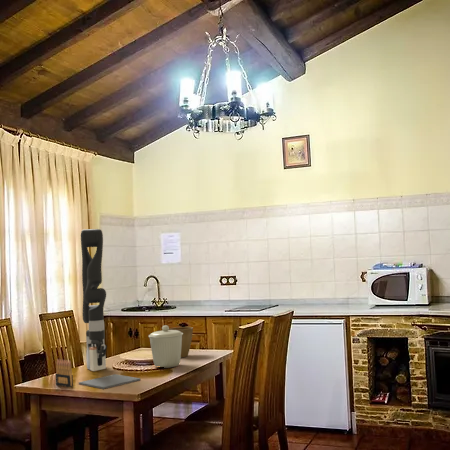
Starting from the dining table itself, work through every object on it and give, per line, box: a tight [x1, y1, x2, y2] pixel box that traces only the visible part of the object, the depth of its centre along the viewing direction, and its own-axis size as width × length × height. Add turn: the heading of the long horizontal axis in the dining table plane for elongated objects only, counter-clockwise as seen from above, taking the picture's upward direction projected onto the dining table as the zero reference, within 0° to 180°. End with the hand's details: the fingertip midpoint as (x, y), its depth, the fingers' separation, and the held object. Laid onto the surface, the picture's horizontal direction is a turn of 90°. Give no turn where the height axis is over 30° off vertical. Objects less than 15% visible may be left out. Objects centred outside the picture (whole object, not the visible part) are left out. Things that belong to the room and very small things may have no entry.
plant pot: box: [168, 326, 194, 358], centre depth 314 cm, size 15×15×16 cm
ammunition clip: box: [55, 358, 74, 388], centre depth 252 cm, size 11×2×12 cm, turn 52°
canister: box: [148, 324, 183, 369], centre depth 286 cm, size 18×18×21 cm
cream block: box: [89, 347, 107, 372], centre depth 268 cm, size 3×7×11 cm, turn 136°
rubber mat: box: [78, 373, 141, 390], centre depth 254 cm, size 20×20×1 cm
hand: (98, 364), depth 268 cm, fingers closed on cream block, 3 cm apart
